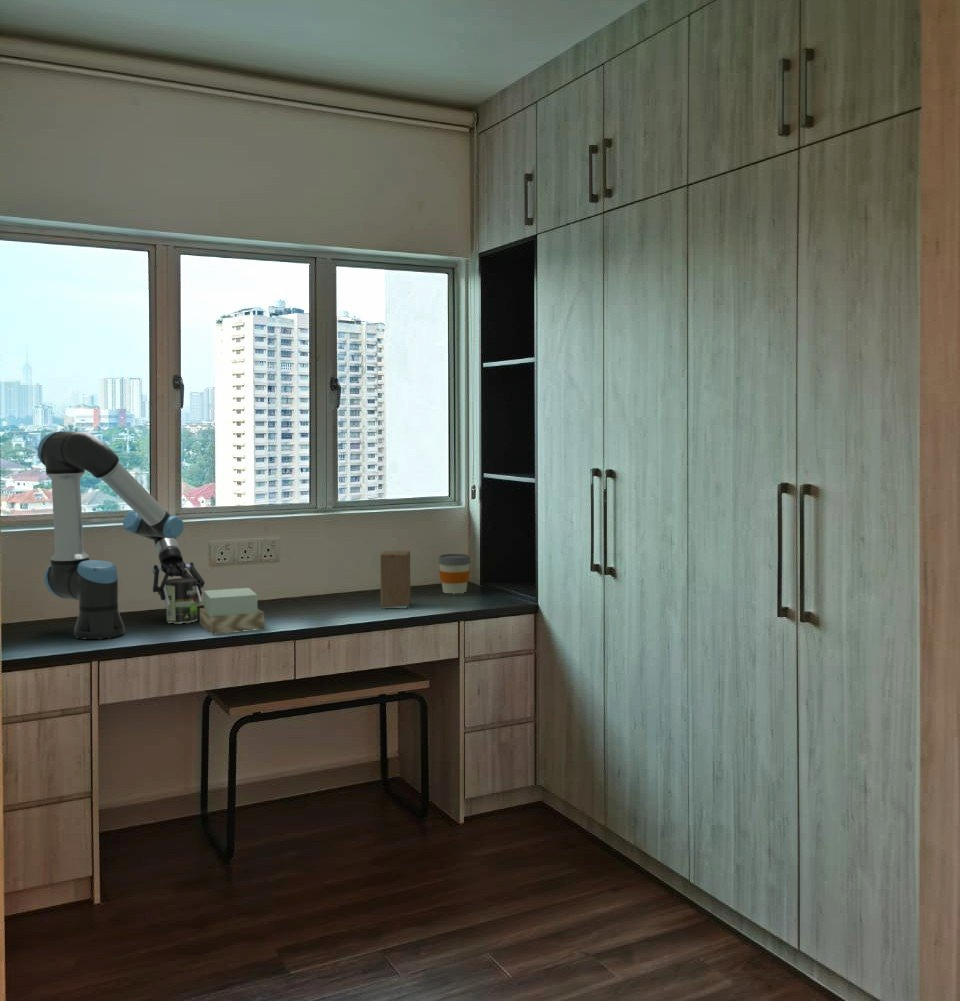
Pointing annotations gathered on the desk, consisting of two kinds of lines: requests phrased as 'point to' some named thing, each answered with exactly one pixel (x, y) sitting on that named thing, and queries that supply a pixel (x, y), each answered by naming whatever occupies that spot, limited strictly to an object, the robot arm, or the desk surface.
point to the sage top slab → (230, 602)
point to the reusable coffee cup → (454, 572)
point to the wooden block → (395, 578)
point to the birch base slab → (231, 622)
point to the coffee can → (182, 600)
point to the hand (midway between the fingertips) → (184, 605)
